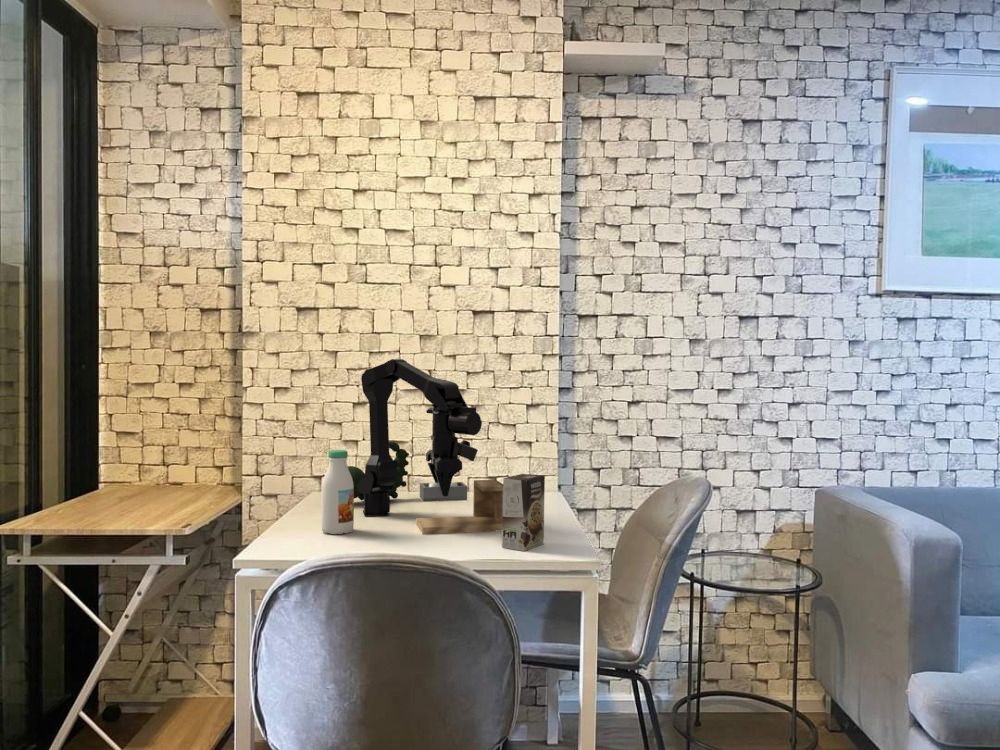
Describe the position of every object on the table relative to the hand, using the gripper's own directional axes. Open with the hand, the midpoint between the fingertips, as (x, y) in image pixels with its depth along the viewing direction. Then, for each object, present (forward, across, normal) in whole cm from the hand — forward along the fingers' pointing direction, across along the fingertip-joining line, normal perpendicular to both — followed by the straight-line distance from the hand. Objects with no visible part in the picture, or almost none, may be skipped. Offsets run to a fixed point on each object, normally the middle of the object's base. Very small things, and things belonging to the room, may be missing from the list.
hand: (442, 493), depth 198 cm
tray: (+1, 0, 0) cm, 1 cm away
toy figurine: (+9, +37, +16) cm, 42 cm away
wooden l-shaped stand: (+9, 0, -5) cm, 10 cm away
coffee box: (+9, -22, -15) cm, 28 cm away
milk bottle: (+9, +1, +26) cm, 27 cm away
